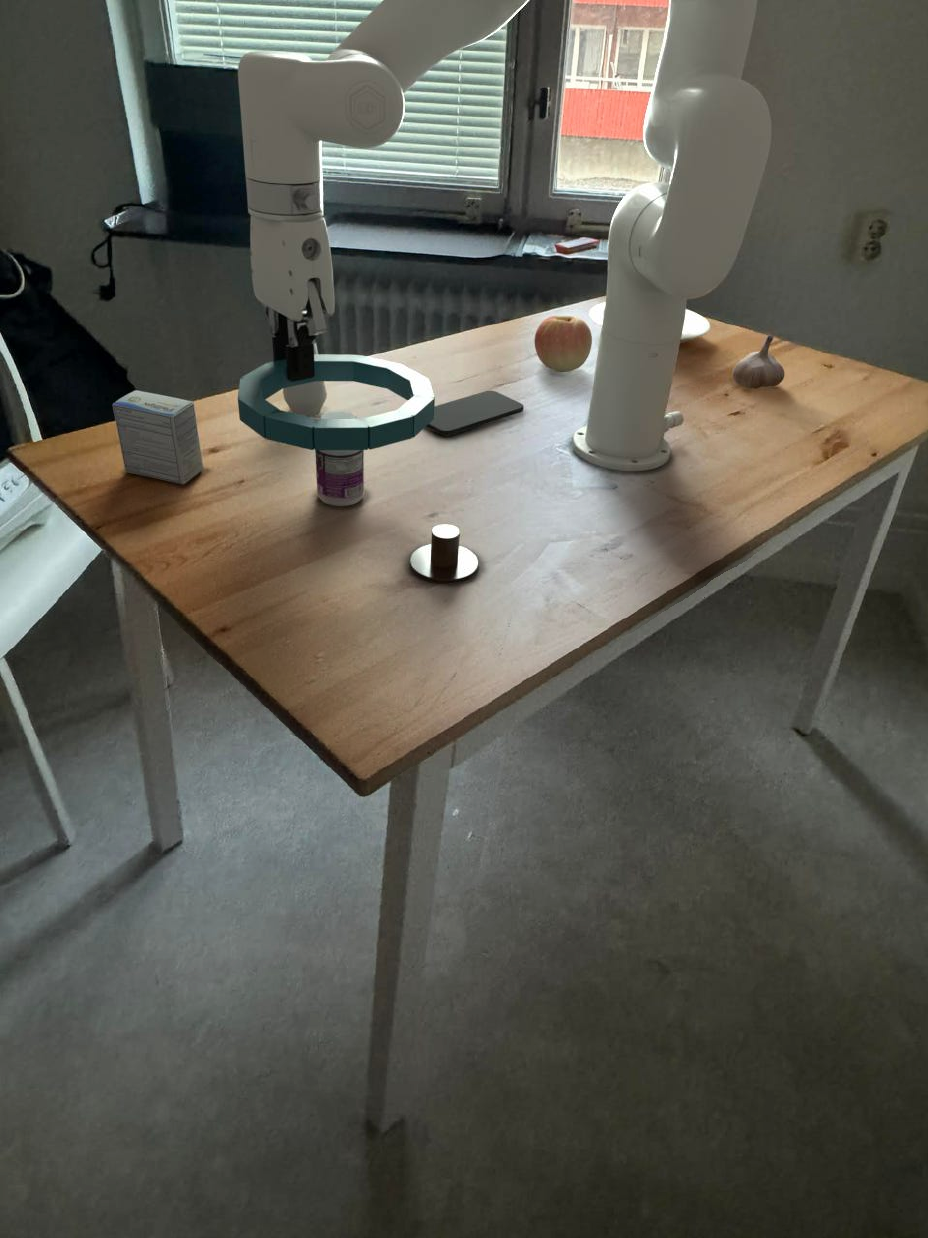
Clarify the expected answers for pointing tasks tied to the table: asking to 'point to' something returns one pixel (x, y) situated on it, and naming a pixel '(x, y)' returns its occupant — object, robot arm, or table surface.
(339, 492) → the pill bottle
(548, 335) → the apple
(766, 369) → the garlic bulb
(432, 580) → the peg stand
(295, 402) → the salt shaker
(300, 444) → the ring
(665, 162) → the robot arm
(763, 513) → the table surface
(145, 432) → the medicine box
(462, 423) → the phone
